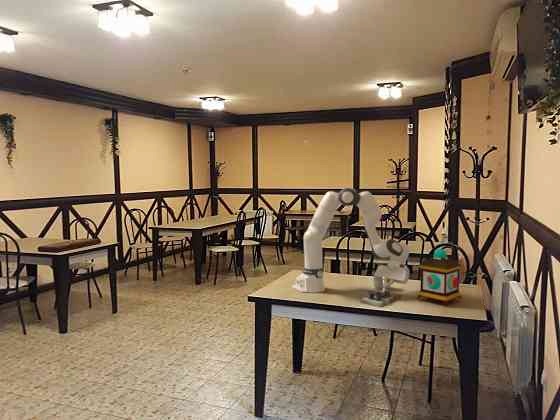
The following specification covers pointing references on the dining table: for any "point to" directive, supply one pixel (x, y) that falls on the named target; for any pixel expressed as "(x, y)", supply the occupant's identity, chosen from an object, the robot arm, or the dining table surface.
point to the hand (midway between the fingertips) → (386, 286)
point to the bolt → (384, 286)
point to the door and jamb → (379, 298)
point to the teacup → (378, 283)
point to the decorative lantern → (440, 278)
